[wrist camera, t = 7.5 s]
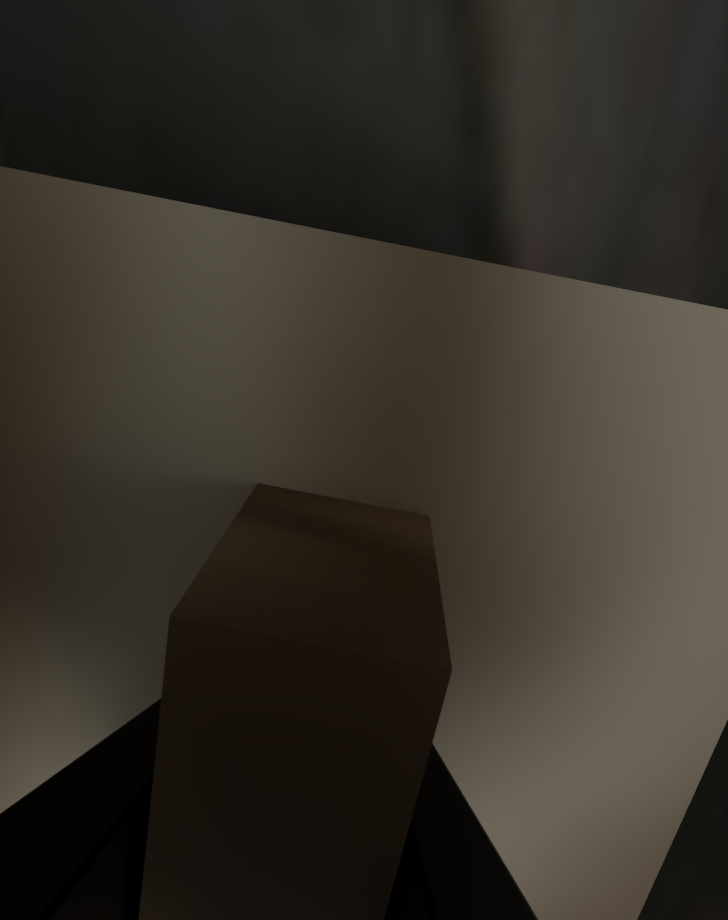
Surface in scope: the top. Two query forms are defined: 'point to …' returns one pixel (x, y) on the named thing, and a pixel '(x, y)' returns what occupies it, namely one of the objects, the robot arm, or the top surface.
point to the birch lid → (355, 549)
